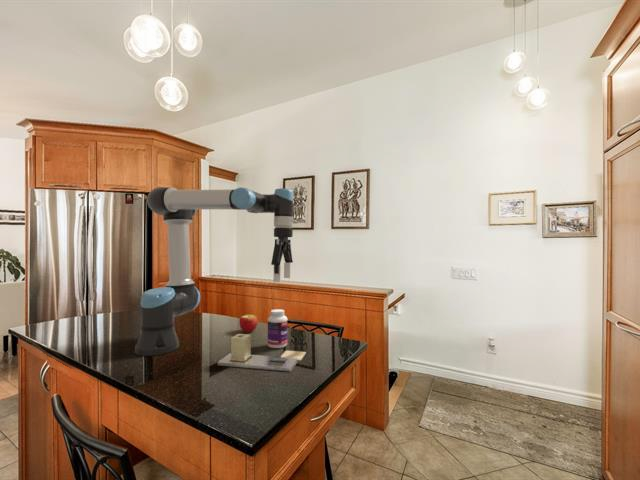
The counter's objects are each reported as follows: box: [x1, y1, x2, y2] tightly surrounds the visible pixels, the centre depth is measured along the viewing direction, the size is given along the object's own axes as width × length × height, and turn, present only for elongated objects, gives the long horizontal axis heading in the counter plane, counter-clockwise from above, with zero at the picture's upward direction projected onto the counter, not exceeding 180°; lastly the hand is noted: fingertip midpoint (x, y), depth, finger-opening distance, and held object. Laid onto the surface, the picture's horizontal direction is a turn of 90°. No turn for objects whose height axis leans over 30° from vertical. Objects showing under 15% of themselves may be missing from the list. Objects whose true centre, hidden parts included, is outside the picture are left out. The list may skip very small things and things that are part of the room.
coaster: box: [280, 350, 307, 362], centre depth 114 cm, size 8×8×1 cm
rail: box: [217, 352, 299, 373], centre depth 107 cm, size 26×9×1 cm, turn 79°
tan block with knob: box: [230, 333, 252, 363], centre depth 109 cm, size 5×5×9 cm
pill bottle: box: [267, 308, 289, 349], centre depth 125 cm, size 8×8×14 cm
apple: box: [238, 310, 259, 333], centre depth 145 cm, size 8×8×10 cm
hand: (282, 280), depth 124 cm, fingers open, 13 cm apart
